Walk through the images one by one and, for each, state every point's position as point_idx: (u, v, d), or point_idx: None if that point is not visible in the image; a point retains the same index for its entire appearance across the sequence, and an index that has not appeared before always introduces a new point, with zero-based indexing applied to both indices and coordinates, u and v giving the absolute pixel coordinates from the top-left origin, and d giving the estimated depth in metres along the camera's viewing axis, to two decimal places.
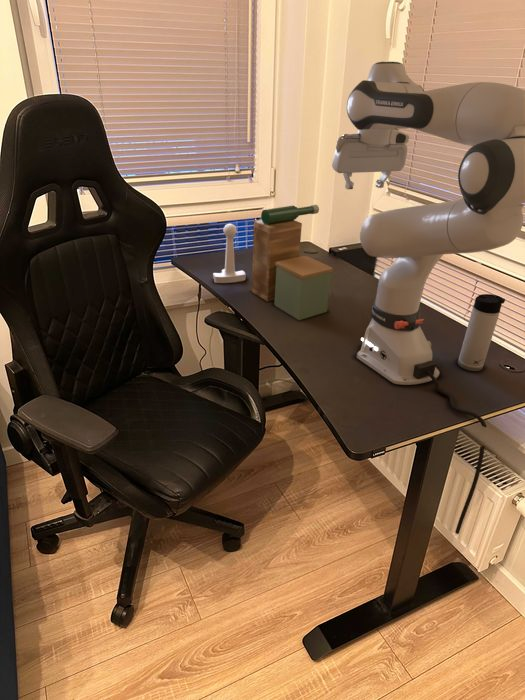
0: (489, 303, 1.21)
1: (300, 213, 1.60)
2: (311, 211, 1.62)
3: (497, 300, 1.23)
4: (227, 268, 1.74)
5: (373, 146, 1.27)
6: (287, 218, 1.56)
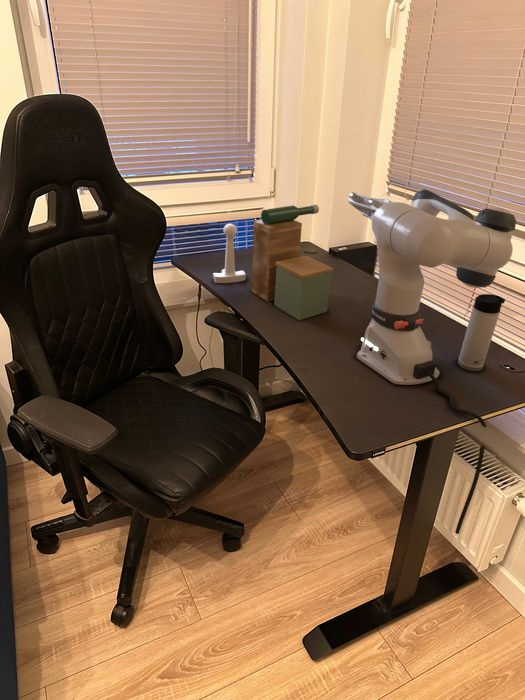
0: (489, 303, 1.21)
1: (300, 213, 1.60)
2: (311, 211, 1.62)
3: (497, 300, 1.23)
4: (227, 268, 1.74)
5: None
6: (287, 218, 1.56)
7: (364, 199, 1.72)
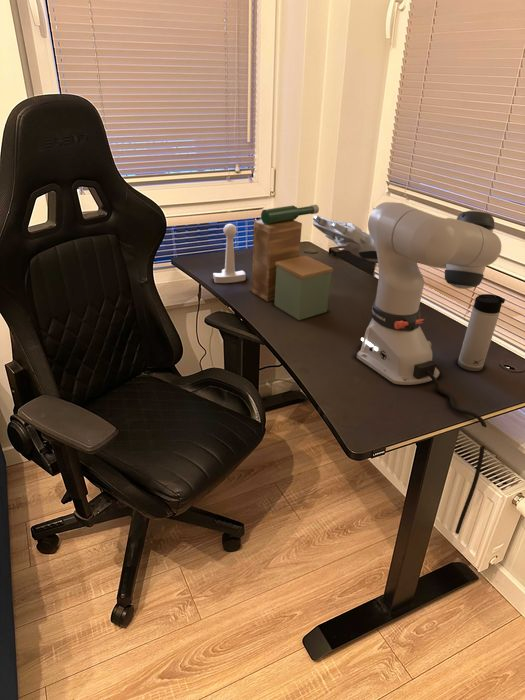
0: (489, 303, 1.21)
1: (300, 213, 1.60)
2: (311, 211, 1.62)
3: (497, 300, 1.23)
4: (227, 268, 1.74)
5: (342, 241, 1.76)
6: (287, 218, 1.56)
7: (328, 222, 1.74)
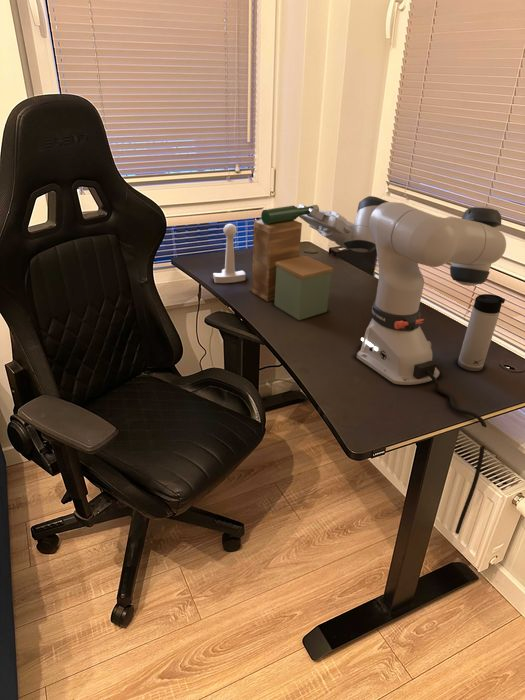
0: (489, 303, 1.21)
1: (300, 213, 1.59)
2: None
3: (497, 300, 1.23)
4: (227, 268, 1.74)
5: (326, 231, 1.69)
6: (287, 218, 1.56)
7: None
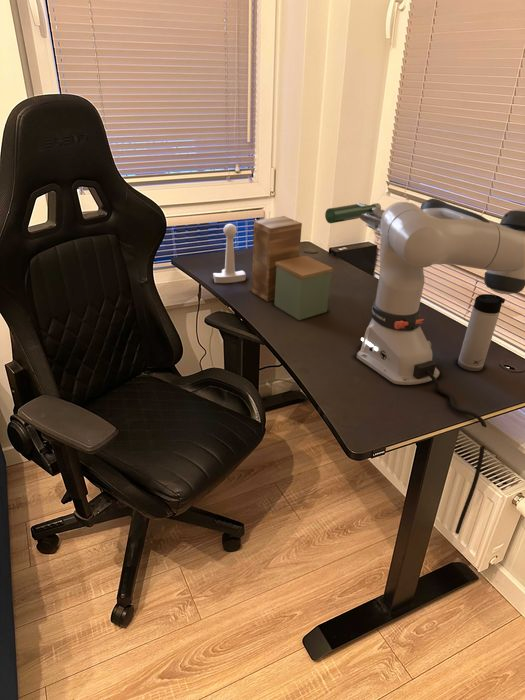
0: (489, 303, 1.21)
1: (363, 212, 1.56)
2: None
3: (497, 300, 1.23)
4: (227, 268, 1.74)
5: None
6: (351, 217, 1.53)
7: None
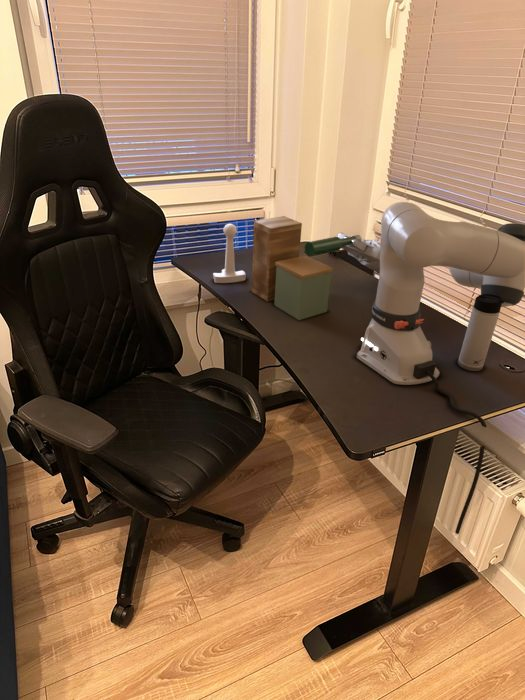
0: (489, 303, 1.21)
1: (343, 244, 1.57)
2: None
3: (497, 300, 1.23)
4: (227, 268, 1.74)
5: (367, 260, 1.66)
6: (331, 250, 1.53)
7: None
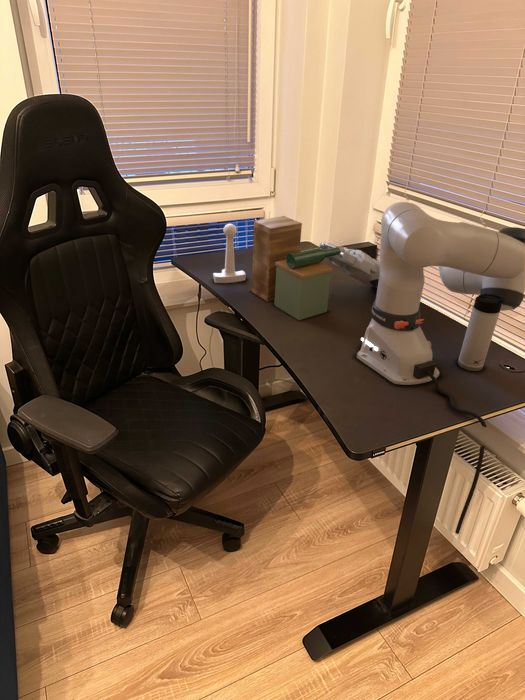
0: (489, 303, 1.21)
1: (326, 255, 1.54)
2: (337, 253, 1.57)
3: (497, 300, 1.23)
4: (227, 268, 1.74)
5: (351, 270, 1.64)
6: (313, 261, 1.51)
7: None
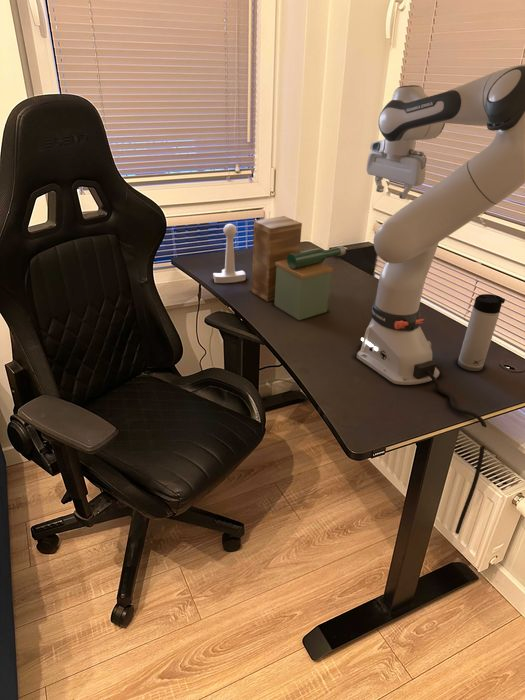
0: (489, 303, 1.21)
1: (326, 256, 1.54)
2: (337, 254, 1.56)
3: (497, 300, 1.23)
4: (227, 268, 1.74)
5: None
6: (313, 263, 1.51)
7: None
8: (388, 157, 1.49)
